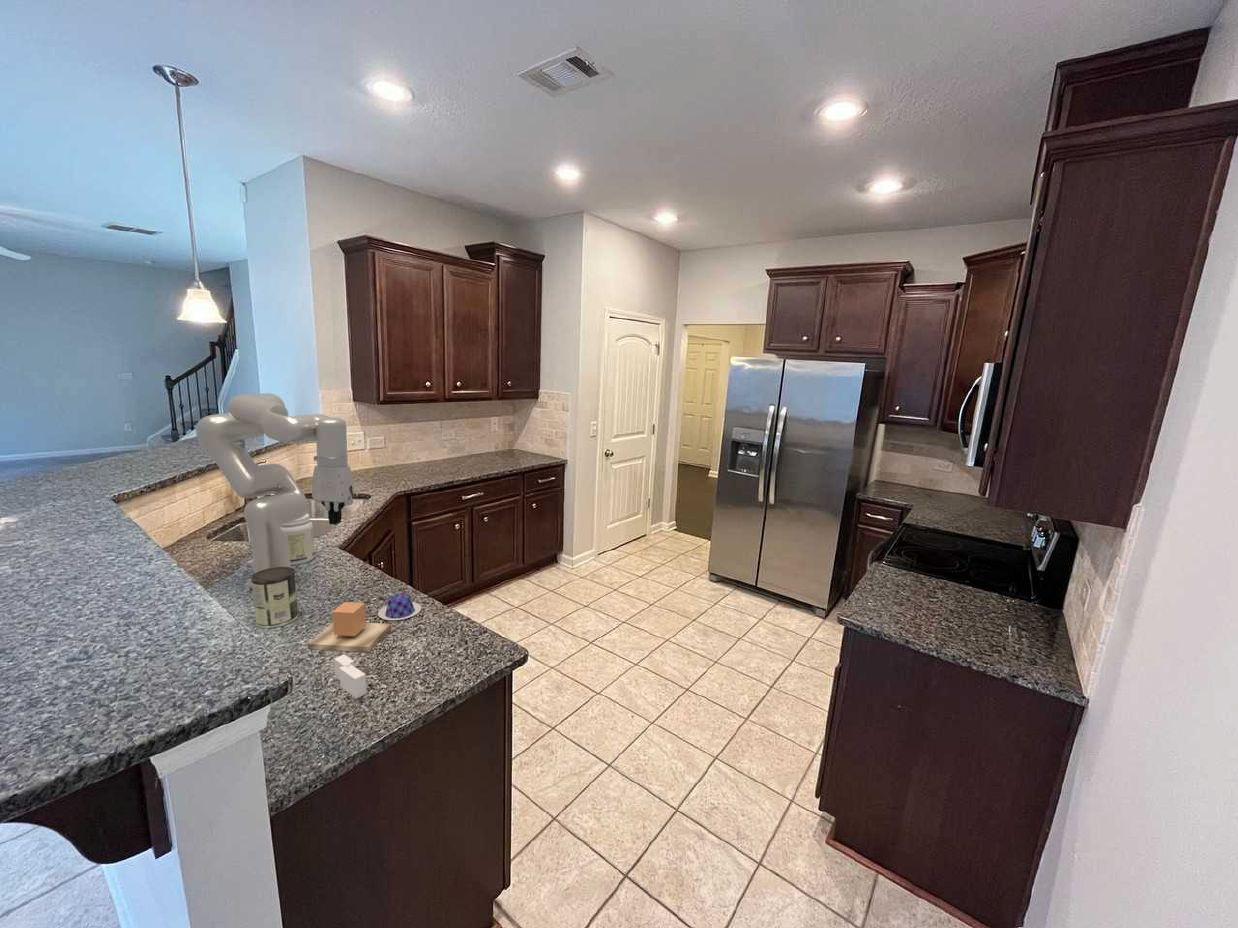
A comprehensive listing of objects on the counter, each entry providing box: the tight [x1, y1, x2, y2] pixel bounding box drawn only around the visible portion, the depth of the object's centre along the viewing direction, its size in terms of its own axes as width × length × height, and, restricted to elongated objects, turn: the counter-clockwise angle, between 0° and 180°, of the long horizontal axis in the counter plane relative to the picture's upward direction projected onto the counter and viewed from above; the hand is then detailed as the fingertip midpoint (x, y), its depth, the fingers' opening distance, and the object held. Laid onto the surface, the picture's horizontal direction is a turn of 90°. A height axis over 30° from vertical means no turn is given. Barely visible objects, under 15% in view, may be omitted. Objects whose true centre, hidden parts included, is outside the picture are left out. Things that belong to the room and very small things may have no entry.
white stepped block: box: [333, 654, 367, 700], centre depth 118 cm, size 15×11×6 cm
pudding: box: [377, 592, 422, 621], centre depth 152 cm, size 12×12×5 cm
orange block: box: [332, 601, 367, 636], centre depth 136 cm, size 6×6×7 cm
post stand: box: [307, 622, 392, 653], centre depth 136 cm, size 16×12×8 cm
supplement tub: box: [279, 513, 316, 566], centre depth 187 cm, size 12×12×17 cm
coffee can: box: [250, 567, 299, 629], centre depth 144 cm, size 10×10×14 cm
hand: (335, 522), depth 148 cm, fingers closed
